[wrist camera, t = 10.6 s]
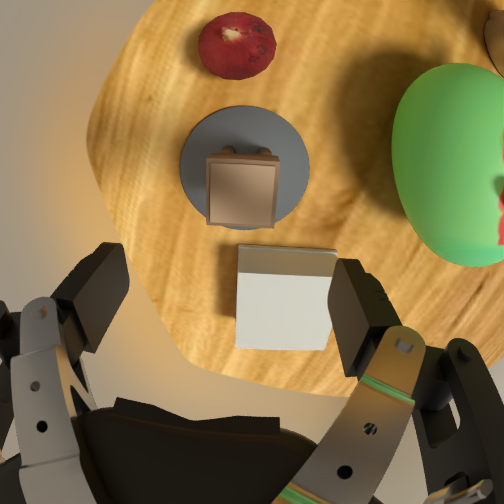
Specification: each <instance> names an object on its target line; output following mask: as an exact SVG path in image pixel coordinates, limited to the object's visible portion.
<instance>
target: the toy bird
mask: <svg viewBox="0 0 504 504" xmlns="http://www.w3.org/2000/svg"><path fill="white" fill-rule="evenodd" d="M391 150H392V166H393V173H394V179H395V183H396V187H397V191H398V195H399V198H400V201H401V203H402V206H403V209H404V211H405V213H406V215H407V218H408V220H409V221H410V223H411V225H412V227H413V229H414V230H415V232H416V233H417V235H418V236H419V237H420V239H421V240H422V241H423V242H424V243H425V245H426V246H427V247H428V248H429V249H430V250H432V251H433V252H434V253H435V254H436V255H438V256H439V257H441V258H443V259H445V260H446V261H449V262H451V263H454V264H457V265H461V266H467V267H482V266H488V265H491V264H495V263H497V262H499V261H502V260H503V259H504V80H503V79H502V78H501V77H499V76H498V75H496V74H494V73H493V72H491V71H489V70H487V69H484V68H482V67H479V66H475V65H471V64H464V63H451V64H445V65H441V66H437V67H435V68H432V69H430V70H428V71H426V72H425V73H423V74H422V75H420V76H419V77H418V78H417V79H416V80H415V81H414V82H413V83H412V84H411V85H410V86H409V87H408V89H407V90H406V92H405V93H404V95H403V97H402V99H401V101H400V103H399V105H398V108H397V111H396V115H395V119H394V124H393V130H392V146H391Z"/></svg>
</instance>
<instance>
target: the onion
mask: <svg viewBox="0 0 504 504" xmlns="http://www.w3.org/2000/svg"><path fill="white" fill-rule="evenodd" d="M276 45H277V44H276V41H275V38H274V35H273V32H272V29H271V27H270V26H269V25H268V24H266V23H265V22H264V21H263V20H262V19H261V18H259V17H256V16H253V15H251V14H248V13H245V12H230V13H227V14H224V15H221V16H218V17H216V18H215V19H213V20H212V21H211V22H209V23H208V24H206V26H205V27H204V29H203V31H202V32H201V34H200V36H199V43H198V51H199V54H200V57H201V60H202V63H203V64H204V65H205V66H206V67H207V68H208V69H209V70H210V72H211V73H213V74H215V75H217V76H219V77H221V78H224V79H230V80H242V79H246V78H250V77H253V76H255V75H257V74H258V73H260V72H262V71H263V70H265V69H266V68H267V67H268V65H269V64H270V62H271V61H272V60H273V58H274V55H275V50H276Z"/></svg>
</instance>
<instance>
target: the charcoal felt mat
mask: <svg viewBox="0 0 504 504" xmlns="http://www.w3.org/2000/svg"><path fill="white" fill-rule="evenodd" d="M228 145H229V146H232V147H234V148H235V150H236V153H241V154H256V153H257V151H258V149H260V148H262V147H266V148H268V149H269V150H270V151H271V153H272V155H274V156H278V158H279V160H280V170H279V182H278V192H277V203H276V214H275V223H276V222H278V221H280V220H281V219H282V218H284V217H285V216H287V215H288V214H289V213H290V212H291V211H292V210H293V209H294V208H295V207H296V206H297V204H298V203H299V201H300V200H301V198H302V196H303V194H304V192H305V190H306V187H307V184H308V179H309V168H310V167H309V158H308V153H307V150H306V147H305V144H304V142H303V140H302V139H301V137H300V135H299V134H298V132H297V131H296V130H295V129H294V128H293V127H292V125H291V124H290V123H289V122H287V121H286V120H285V119H283V118H282V117H280V116H279V115H277V114H275V113H273V112H271V111H268V110H266V109H262V108H258V107H251V106H237V107H231V108H227V109H223V110H220V111H218V112H216V113H214V114H212V115H210V116H209V117H207V118H206V119H204V120H203V121H202V122H201V123H200V124H198V126H197V127H196V128H195V129H194V130H193V131H192V133H191V134H190V136H189V137H188V139H187V141H186V143H185V145H184V148H183V151H182V155H181V160H180V176H181V181H182V185H183V188H184V191H185V193H186V195H187V197H188V199H189V200H190V202H191V203H192V204H193V206H194V207H195V208H196V209H197V210H198V211H199V212H200V213H201V214H202V215H203V216H205V217H206V163H207V157H208V156H209V155H210V154H211V153H219V152H220V151H221V149H222V148H223V147H224V146H228ZM224 227H227V228H231V229H238V230H252V229H259V228H257V227H239V226H224Z"/></svg>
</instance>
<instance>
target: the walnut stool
mask: <svg viewBox="0 0 504 504" xmlns="http://www.w3.org/2000/svg"><path fill="white" fill-rule="evenodd" d="M279 170H280V160H279V158H278V156H274V155H272V153H271V151H270V150H269V149H268V148H266V147H262V148H260V149H258V151H257V153H256V154H241V153H236V150H235V148H234V147H232V146H229V145H228V146H224V147H223V148H222V149H221V151H220V152H219V153H211V154H210V155H209V156H208V157H207V163H206V225H219V226H239V227H257V228H273V229H274V224H275V214H276V203H277V192H278V182H279Z"/></svg>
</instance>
